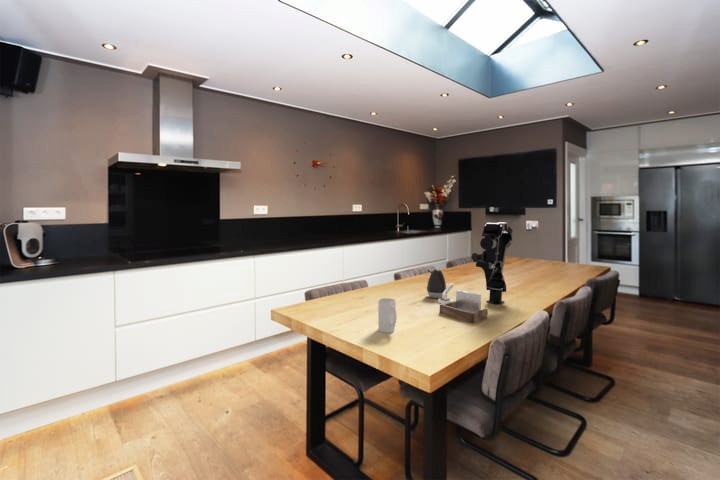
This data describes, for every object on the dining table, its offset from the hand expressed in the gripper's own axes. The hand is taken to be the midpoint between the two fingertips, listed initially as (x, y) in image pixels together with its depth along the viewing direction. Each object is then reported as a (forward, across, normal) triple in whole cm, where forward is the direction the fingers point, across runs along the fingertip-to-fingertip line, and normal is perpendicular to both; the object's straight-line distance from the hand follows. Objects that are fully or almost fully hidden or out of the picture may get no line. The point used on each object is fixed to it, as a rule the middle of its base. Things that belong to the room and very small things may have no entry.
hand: (487, 282), depth 175 cm
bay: (+15, +17, -3) cm, 23 cm away
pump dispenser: (+14, -4, -28) cm, 31 cm away
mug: (+19, +55, -16) cm, 60 cm away
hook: (+14, +2, -19) cm, 24 cm away
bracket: (+15, +16, -3) cm, 22 cm away
